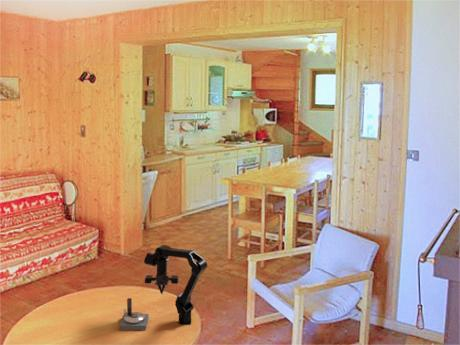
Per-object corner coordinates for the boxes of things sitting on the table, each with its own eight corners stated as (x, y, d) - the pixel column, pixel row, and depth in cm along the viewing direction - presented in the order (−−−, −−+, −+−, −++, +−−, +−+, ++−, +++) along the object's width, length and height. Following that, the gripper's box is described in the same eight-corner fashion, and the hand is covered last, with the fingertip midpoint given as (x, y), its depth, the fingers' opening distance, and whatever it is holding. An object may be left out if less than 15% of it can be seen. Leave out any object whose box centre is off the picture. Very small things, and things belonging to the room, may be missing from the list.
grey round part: (133, 311, 284) (133, 294, 282) (148, 318, 276) (148, 301, 274) (117, 318, 276) (117, 300, 274) (132, 325, 268) (132, 307, 266)
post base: (148, 317, 283) (148, 307, 282) (145, 329, 269) (145, 318, 268) (123, 317, 282) (123, 307, 281) (119, 329, 268) (119, 318, 267)
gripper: (143, 272, 274) (143, 299, 276) (177, 273, 275) (177, 299, 277) (145, 265, 285) (146, 291, 287) (178, 265, 285) (178, 291, 288)
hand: (161, 293), depth 285 cm, fingers closed
